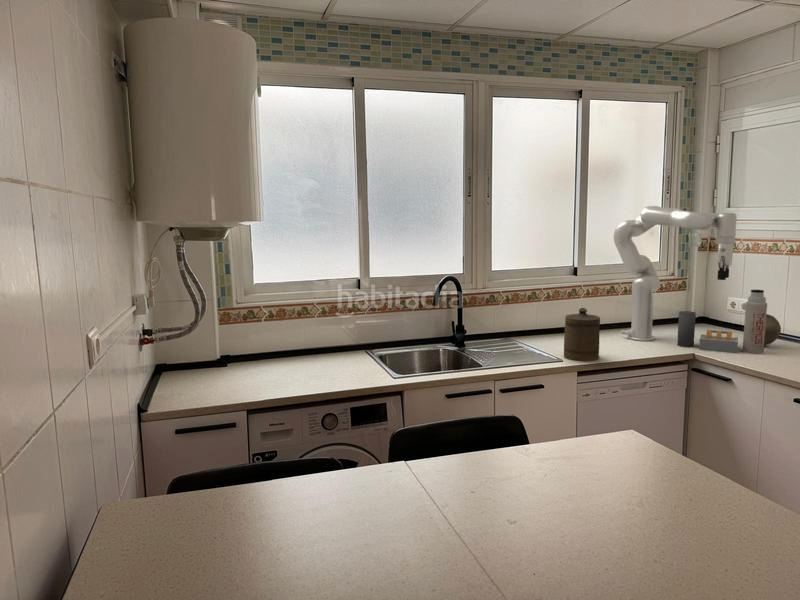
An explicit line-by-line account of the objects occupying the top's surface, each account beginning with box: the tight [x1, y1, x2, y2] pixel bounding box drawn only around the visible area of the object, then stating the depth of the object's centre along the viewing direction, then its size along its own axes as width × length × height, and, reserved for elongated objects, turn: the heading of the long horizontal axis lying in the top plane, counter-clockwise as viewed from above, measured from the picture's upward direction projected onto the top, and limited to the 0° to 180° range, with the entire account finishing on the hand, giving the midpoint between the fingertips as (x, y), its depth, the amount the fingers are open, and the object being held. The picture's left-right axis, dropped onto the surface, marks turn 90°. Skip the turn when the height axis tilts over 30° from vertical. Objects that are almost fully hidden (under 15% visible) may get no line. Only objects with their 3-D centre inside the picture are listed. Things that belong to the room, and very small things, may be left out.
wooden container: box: [563, 307, 601, 362], centre depth 248 cm, size 15×15×22 cm
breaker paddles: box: [706, 329, 733, 339], centre depth 258 cm, size 10×2×3 cm, turn 59°
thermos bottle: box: [742, 289, 768, 355], centre depth 251 cm, size 8×8×28 cm
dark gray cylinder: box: [676, 310, 697, 348], centre depth 265 cm, size 7×7×16 cm
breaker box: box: [698, 333, 739, 354], centre depth 259 cm, size 15×12×5 cm
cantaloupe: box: [764, 313, 782, 347], centre depth 262 cm, size 14×14×15 cm
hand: (723, 278), depth 255 cm, fingers open, 9 cm apart
